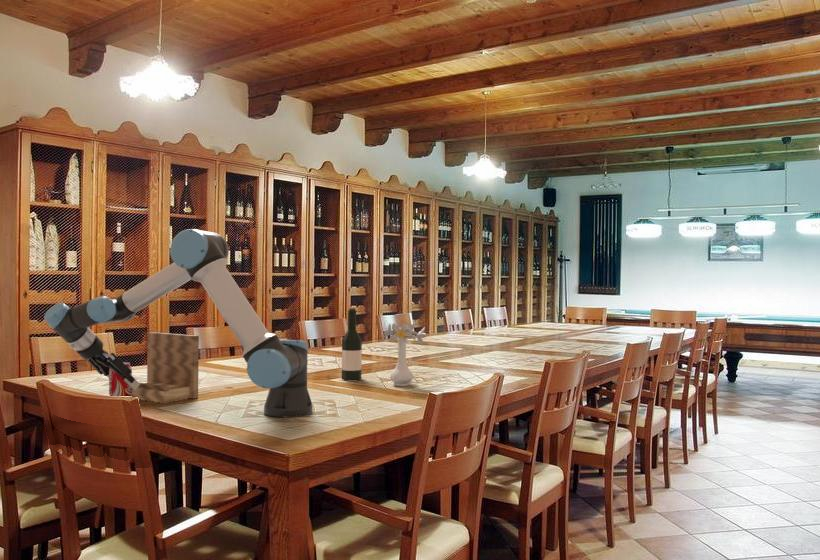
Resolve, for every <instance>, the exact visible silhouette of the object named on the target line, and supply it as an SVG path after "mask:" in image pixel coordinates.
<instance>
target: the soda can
mask: <svg viewBox="0 0 820 560" xmlns="http://www.w3.org/2000/svg"><path fill="white" fill-rule="evenodd" d="M122 362H123V363H124V364H125V365H126V366H127V367H128V368H129V369H130V370H131V371H132V372H131V375H132V376H133V369H132V366H131V364H130V363H131V362H129V361H128V362H127V361H122ZM122 378H123V377H122V376H120V375H119V374H118V373H116V372H115V371H114V370H112V369H111V368H110V369H109V378H108V395H110V396H131V393H132V388H131V387H130V386H129V385H128V384H127V383H126V382H125V381H124V380H122Z"/></svg>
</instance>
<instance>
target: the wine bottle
mask: <svg viewBox="0 0 820 560" xmlns="http://www.w3.org/2000/svg"><path fill="white" fill-rule="evenodd" d="M362 343H363V340H362V338H361V335H360V334H359V333H358V331H357V310H356V308H354V307H349V309H348V310H347V331H346V333H345V335H344V336H343V338H342V340H341V380H342V379H344V380H343V381H345V380H356V381H361V380H362V352H363V350H362V349H363V348H362V347H363V345H362ZM360 379H361V380H360Z"/></svg>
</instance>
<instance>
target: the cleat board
mask: <svg viewBox="0 0 820 560" xmlns="http://www.w3.org/2000/svg"><path fill="white" fill-rule="evenodd" d="M199 339H200V336H199V335H197V334H196V335H194V334H182V333H166V332H154V331H151V332H147V349H146V350H147V352H146V353H147V357H146V358H147V359H146V360H147V364H146V365H147V366H146V368H147V369H146V371H147V372H146V375H147V376H146V382H144V383H143V382H139V383H140V385H139V386H138V388H137V389H136V390H133V389H132V393H131V396H132V397H138V398H139V400H140V399H141V400H140V401H145V400H147V401H146V402H152V401H153V403H158V402H160V403H159V404H169V402H170V403H174V402H173V401H175V402H179V400H180V401H184V400H183V399H185V400H188V399H187V398H193V399H192V400H195V399H194V398H197V399H199V357H200V356H199V350H200V346H199V344H200V343H199V342H200V340H199Z"/></svg>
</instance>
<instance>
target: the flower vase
mask: <svg viewBox="0 0 820 560" xmlns="http://www.w3.org/2000/svg"><path fill="white" fill-rule="evenodd" d="M414 329H415V324H409V325H408V324H406V323H405V322H403V323H402V325H401V326H398V325H396V323H392V324H391V323H389V324H388V326H387V329H386V330H385V331H384V332H383V337H381V340H384V339H385V338H386V337H388V336H389V341H390V342H392V341H394V339H396V340H397V350H398V352H397V362H396V365H395V368H394V369H393V370H392V371H391V372H390V374H389V375H390V376H389V378H390V380H391V382H393V385H394V386H396V387H407V386H409V385H410V383H411V382H412V381H413V380H414V374H413V372H412V371H411V369H409V367H408V364H407V355H406V353H407V352H406V349H407V342H408V339H409V340H411V339H413V340H414V341H416V340H417V344H420V345H421V346H423V344H424V338H426V337H427V333H425V330H426V326H424V327H423V328H422V329H421V330H419V332H417V331H415V330H414ZM415 336H416V337H415Z"/></svg>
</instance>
